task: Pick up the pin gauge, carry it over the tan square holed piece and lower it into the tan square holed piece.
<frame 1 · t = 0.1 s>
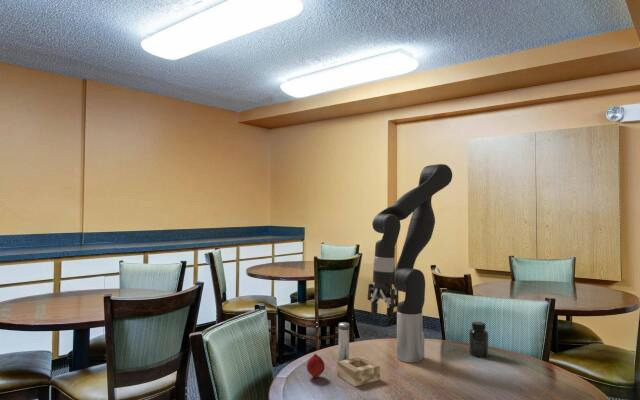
hand: (381, 315, 147), 17 cm above the table, tool pointing down, fingers open, 8 cm apart
pin gauge: (343, 367, 144), on the table
onion: (315, 378, 135), on the table
supplement bottle: (478, 355, 158), on the table
tan square holed piece: (358, 377, 135), on the table
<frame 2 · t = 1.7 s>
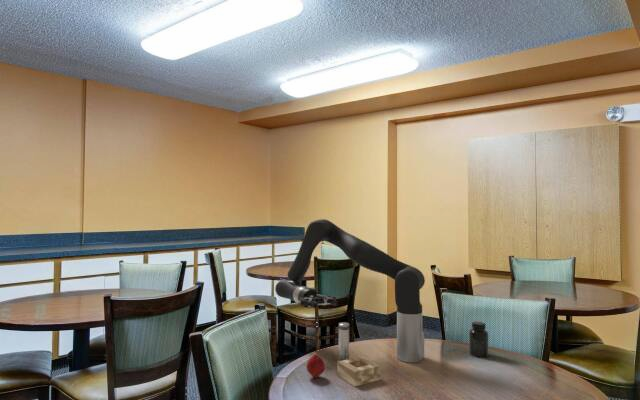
hand: (326, 304, 154), 19 cm above the table, tool horizontal, fingers open, 8 cm apart
nothing on the table moved.
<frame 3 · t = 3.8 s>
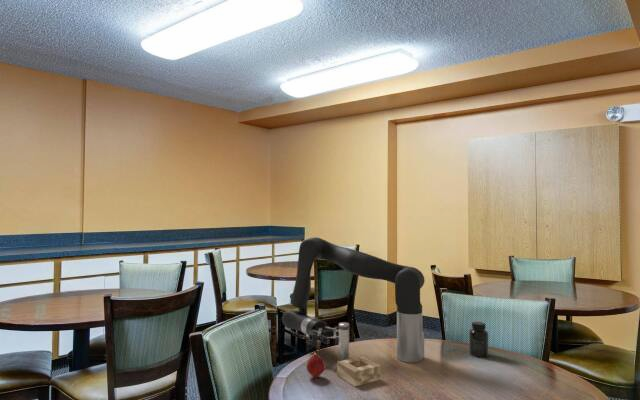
hand: (336, 338, 149), 8 cm above the table, tool horizontal, fingers open, 8 cm apart
nothing on the table moved.
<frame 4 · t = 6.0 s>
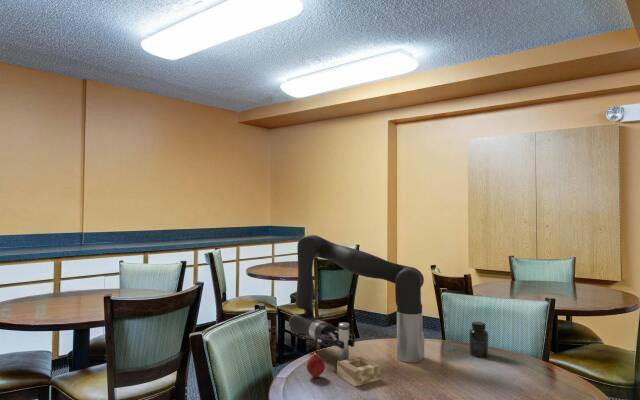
hand: (348, 344, 142), 9 cm above the table, tool horizontal, fingers closed on pin gauge, 3 cm apart
pin gauge: (343, 367, 144), on the table, touching gripper
everything else where it was.
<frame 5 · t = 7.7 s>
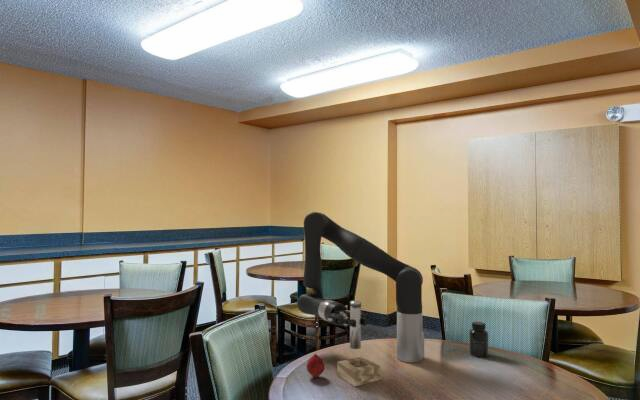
hand: (360, 323, 135), 18 cm above the table, tool horizontal, fingers closed on pin gauge, 3 cm apart
pin gauge: (355, 347, 137), point 9 cm above the table, touching gripper
everything else where it was.
when the fingers open (10 cm above the table, at t = 9.9 s): pin gauge stays where it is, resting on tan square holed piece.
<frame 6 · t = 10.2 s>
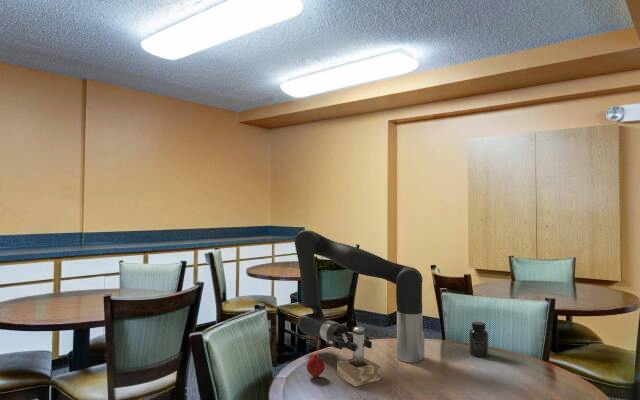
hand: (363, 346, 134), 11 cm above the table, tool horizontal, fingers open, 5 cm apart
pin gauge: (358, 374, 135), point 1 cm above the table, touching tan square holed piece
everything else where it was.
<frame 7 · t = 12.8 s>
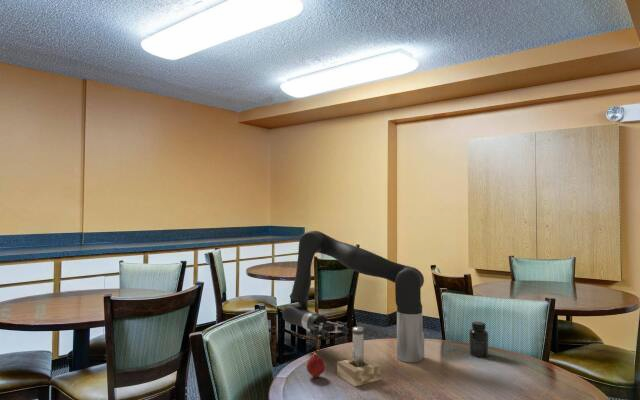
hand: (338, 333, 146), 11 cm above the table, tool horizontal, fingers open, 8 cm apart
nothing on the table moved.
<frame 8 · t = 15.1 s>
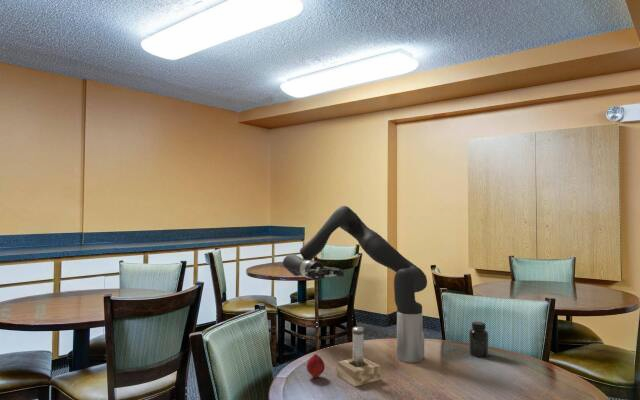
hand: (333, 274, 159), 30 cm above the table, tool horizontal, fingers open, 8 cm apart
nothing on the table moved.
at the end: pin gauge 0.1 cm off-centre on the tan square holed piece, point 1.0 cm above the tan square holed piece's base; pin gauge tilted 0°; the gripper is holding nothing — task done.
